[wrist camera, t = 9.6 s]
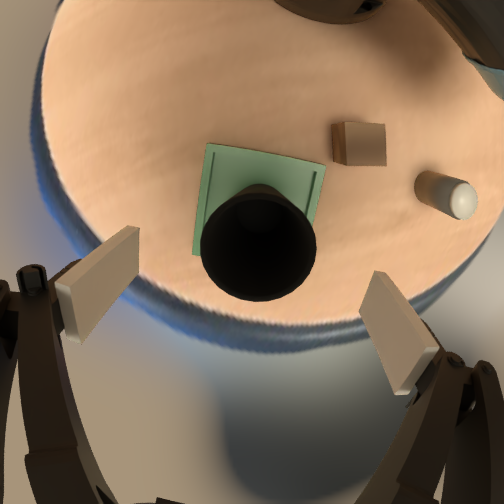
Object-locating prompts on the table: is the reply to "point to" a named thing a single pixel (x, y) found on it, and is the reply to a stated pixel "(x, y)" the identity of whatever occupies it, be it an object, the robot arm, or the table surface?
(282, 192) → the tray
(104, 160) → the table surface
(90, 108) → the table surface
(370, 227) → the table surface
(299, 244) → the cup
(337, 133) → the walnut block
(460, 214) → the pepper shaker
